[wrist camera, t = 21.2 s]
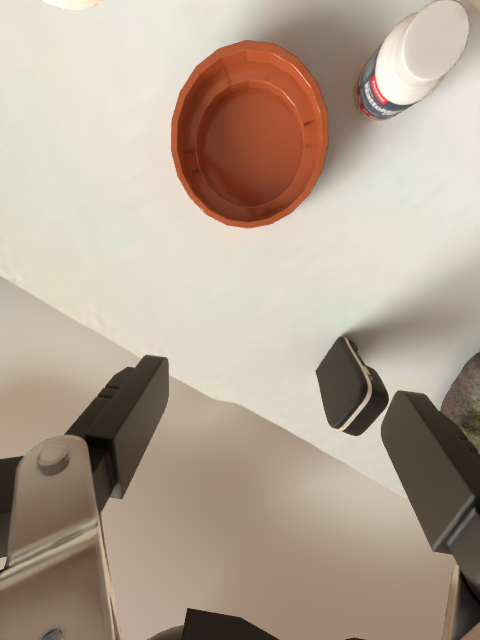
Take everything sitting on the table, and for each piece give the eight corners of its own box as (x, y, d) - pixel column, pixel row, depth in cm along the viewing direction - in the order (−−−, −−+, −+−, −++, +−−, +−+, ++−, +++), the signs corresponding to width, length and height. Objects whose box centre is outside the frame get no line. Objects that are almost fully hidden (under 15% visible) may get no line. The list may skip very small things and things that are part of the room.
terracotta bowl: (167, 188, 31) (151, 187, 27) (215, 33, 25) (205, 2, 21) (277, 244, 32) (278, 251, 28) (348, 110, 27) (362, 95, 22)
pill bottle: (342, 103, 26) (373, 64, 18) (378, 38, 24) (432, -39, 16) (387, 133, 27) (437, 107, 19) (427, 71, 25) (501, 13, 17)
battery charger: (336, 381, 40) (360, 447, 29) (313, 371, 39) (328, 434, 29) (364, 344, 37) (401, 402, 26) (339, 332, 36) (367, 388, 26)
